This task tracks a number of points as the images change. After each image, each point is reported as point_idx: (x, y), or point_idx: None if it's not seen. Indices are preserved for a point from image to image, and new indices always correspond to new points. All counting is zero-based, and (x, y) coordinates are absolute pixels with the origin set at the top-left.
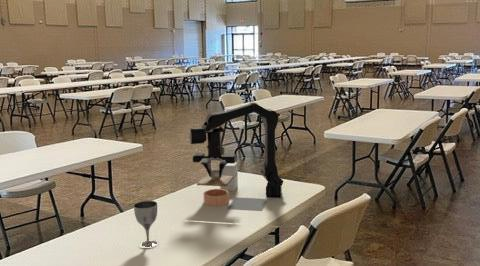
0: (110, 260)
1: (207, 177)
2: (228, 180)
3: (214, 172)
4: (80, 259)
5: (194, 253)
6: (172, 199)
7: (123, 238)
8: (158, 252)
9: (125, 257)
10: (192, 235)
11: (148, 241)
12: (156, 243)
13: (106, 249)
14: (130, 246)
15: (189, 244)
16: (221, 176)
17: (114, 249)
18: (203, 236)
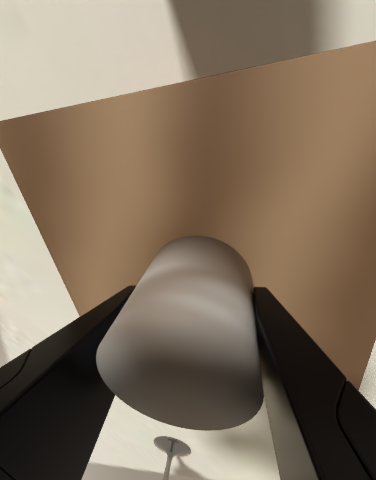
0: (149, 469)
1: (80, 229)
2: (369, 296)
3: (193, 418)
4: (109, 462)
5: (276, 475)
6: (12, 209)
7: (112, 426)
8: (206, 465)
9: (164, 467)
10: (241, 428)
11: (171, 457)
12: (185, 448)
13: (118, 449)
14: (146, 446)
15: (252, 454)
16: (224, 146)
17: (129, 450)
18: (271, 434)
